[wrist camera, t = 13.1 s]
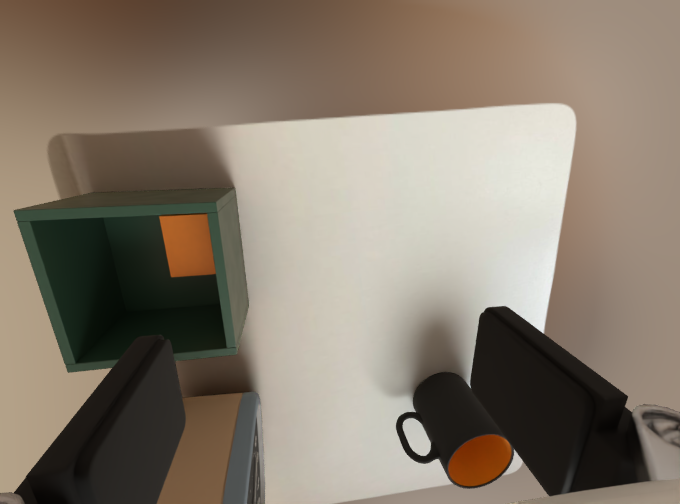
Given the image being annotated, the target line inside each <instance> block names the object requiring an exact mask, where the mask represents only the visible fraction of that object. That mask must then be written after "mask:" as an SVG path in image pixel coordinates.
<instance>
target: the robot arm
mask: <svg viewBox="0 0 680 504" xmlns="http://www.w3.org/2000/svg"><path fill="white" fill-rule="evenodd" d="M470 386H471V390H472V392H473V394H474V395H475V397H476V398H477V399H478V401H479V402H480V403H481V405H482V406H483V407H484V409H485V410H486V412H487V413H488V414H489V416H490V417H491V418H492V420H493V421H494V422H495V424H496V425H497V426H498V428H499V429H500V430H501V432H502V433H503V435H504V436H505V437H506V439H507V440H508V441H509V443H510V444H511V445H512V447H513V448H514V449H515V451H516V452H517V453H518V455H519V456H520V457H521V459H522V460H523V462H524V463H525V464H526V466H527V467H528V468H529V470H530V471H531V472H532V474H533V475H534V476H535V478H536V479H537V480H538V482H539V483H540V485H541V486H542V487H543V489H544V490H545V491H546V492H547V494H548V495H549V497H544V498H537V499H531V500H525V501H519V502H513V503H507V504H680V412H678V411H675V410H672V409H670V408H667V407H662V406H658V405H648V404H643V405H639V406H636V407H635V409H633V412H631V411H629V410H628V409H627V408H626V407H625V404H626V401H627V398H628V396H627V395H625V394H624V393H623V392H621V391H620V390H619V389H617V388H616V387H615V386H613V385H612V384H611V383H609V382H608V381H607V380H605V379H604V378H603V377H601V376H600V375H598V374H597V373H596V372H594V371H593V370H592V369H590V368H589V367H587V366H586V365H585V364H584V363H582V362H581V361H580V360H578V359H577V358H576V357H574V356H573V355H571V354H570V353H569V352H568V351H566V350H565V349H563V348H562V347H561V346H559V345H558V344H557V343H555V342H554V341H553V340H551V339H550V338H549V337H547V336H546V335H545V334H543V333H542V332H541V331H539V330H538V329H536V328H535V327H534V326H532V325H531V324H530V323H528V322H527V321H526V320H524V319H523V318H522V317H520V316H519V315H518V314H516V313H515V312H514V311H512V310H511V309H510V308H508V307H506V306H500V307H488V308H486V309H485V311H484V312H483V313H481V315H480V318H479V325H478V332H477V338H476V345H475V352H474V359H473V366H472V373H471V380H470ZM185 423H186V415H185V409H184V404H183V399H182V394H181V390H180V385H179V380H178V375H177V370H176V365H175V360H174V355H173V350H172V345H171V342H170V340H168V339H167V340H164V338H163V336H162V335H152V336H140V337H137V338H136V339H135V340H134V342H133V343H132V344H131V345H130V347H129V348H128V349H127V350H126V352H125V353H124V354H123V355H122V357H121V358H120V359H119V360H118V362H117V363H116V364H115V365H114V367H113V368H112V369H111V370H110V372H109V373H108V374H107V375H106V377H105V378H104V379H103V381H102V382H101V383H100V384H99V385H98V387H97V388H96V389H95V390H94V392H93V393H92V394H91V396H90V397H89V398H88V399H87V401H86V402H85V403H84V404H83V406H82V407H81V408H80V409H79V411H78V412H77V413H76V414H75V416H74V417H73V418H72V419H71V421H70V422H69V423H68V424H67V426H66V427H65V428H64V430H63V431H62V432H61V433H60V435H59V436H58V437H57V438H56V439H55V441H54V442H53V443H52V444H51V446H50V447H49V448H48V450H47V451H46V452H45V453H44V454H43V456H42V457H41V458H40V460H39V461H38V462H37V463H36V465H35V466H34V467H33V468H32V470H31V471H30V472H29V473H28V475H27V476H26V478H25V479H24V481H23V482H22V483H21V484H20V486H19V487H18V488H17V490H16V491H15V492H14V493H11V492H9V493H0V504H157V501H158V499H159V496H160V493H161V491H162V488H163V485H164V482H165V480H166V477H167V474H168V472H169V469H170V466H171V464H172V461H173V458H174V456H175V453H176V450H177V447H178V445H179V442H180V439H181V437H182V434H183V431H184V428H185Z"/></svg>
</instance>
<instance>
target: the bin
mask: <svg viewBox="0 0 680 504" xmlns="http://www.w3.org/2000/svg"><path fill="white" fill-rule="evenodd" d="M189 213H207V217H208V224H209V231H210V238H211V244H212V251H213V258H214V265H215V271H216V274H210V275H196V276H183V277H171V274H170V269H169V264H168V259H167V254H166V249H165V244H164V238H163V233H162V228H161V223H160V218H159V216H161V215H167V214H189ZM14 214H15V217H16V220H17V221H18V222H17V223H18V226H19V229H20V232H21V235H22V238H23V241H24V244H25V247H26V250H27V252H28V256H29V259H30V262H31V265H32V268H33V271H34V273H35V276H36V280H37V282H38V286H39V288H40V291H41V295H42V298H43V301H44V304H45V307H46V310H47V312H48V315H49V318H50V321H51V324H52V327H53V330H54V333H55V336H56V339H57V342H58V345H59V348H60V351H61V354H62V357H63V360H64V363H65V365H66V368H67V371H68V373H69V372H78V371H88V370H96V369H106V368H113V367H114V365H115V364H116V363H117V362H118V360H119V359H120V358H121V357H122V355H123V354H124V353H125V352H126V350H127V349H128V348H129V347H130V345H131V344H132V343H133V342H134V340H135V339H136V338H137V337H140V336H152V335H162V336H163V338H164V340H167V339H168V340H170V342H171V345H172V350H173V355H174V360H175V361H181V360H191V359H200V358H210V357H219V356H228V355H237V352H238V348H239V344H240V340H241V336H242V332H243V328H244V324H245V319H246V315H247V311H248V307H249V301H248V292H247V284H246V275H245V267H244V258H243V250H242V241H241V233H240V224H239V216H238V207H237V199H236V190H235V188H209V189H181V190H153V191H125V192H97V193H88V194H84V195H79V196H75V197H70V198H66V199H62V200H57V201H53V202H48V203H44V204H40V205H35V206H31V207H26V208H22V209H17V210H14Z"/></svg>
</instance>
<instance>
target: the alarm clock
mask: <svg viewBox="0 0 680 504" xmlns="http://www.w3.org/2000/svg"><path fill="white" fill-rule="evenodd" d="M182 399H183V404H184V409H185V415H186V423H185V428H184V431H183V434H182V437H181V439H180V442H179V445H178V447H177V450H176V453H175V456H174V458H173V461H172V464H171V466H170V469H169V472H168V474H167V477H166V480H165V482H164V485H163V488H162V491H161V493H160V496H159V499H158V501H157V504H265V470H264V450H263V432H262V415H261V403H260V398H259V394H258V393H257V392H245V393H233V394H221V395H210V396H198V397H186V398H182Z"/></svg>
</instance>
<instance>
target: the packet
mask: <svg viewBox="0 0 680 504" xmlns="http://www.w3.org/2000/svg"><path fill="white" fill-rule="evenodd" d="M159 218H160V223H161V228H162V233H163V238H164V244H165V249H166V254H167V259H168V264H169V269H170V274H171V277H183V276H196V275H210V274H216V271H215V265H214V258H213V251H212V244H211V238H210V231H209V224H208V217H207V213H189V214H167V215H161V216H159Z"/></svg>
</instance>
